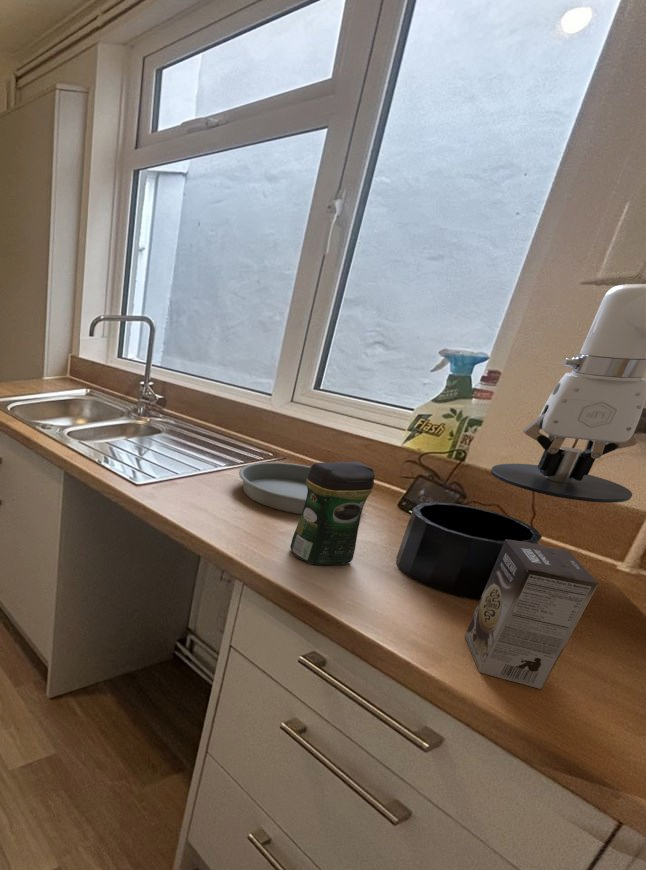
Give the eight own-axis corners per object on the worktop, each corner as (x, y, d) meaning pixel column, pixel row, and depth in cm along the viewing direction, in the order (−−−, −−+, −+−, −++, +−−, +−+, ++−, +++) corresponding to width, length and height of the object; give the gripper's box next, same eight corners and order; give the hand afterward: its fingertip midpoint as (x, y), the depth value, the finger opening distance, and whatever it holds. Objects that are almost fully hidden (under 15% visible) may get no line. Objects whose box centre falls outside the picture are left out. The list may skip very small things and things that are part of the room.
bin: (500, 567, 94) (523, 514, 90) (528, 612, 82) (556, 553, 78) (391, 545, 102) (408, 496, 98) (402, 584, 89) (421, 529, 85)
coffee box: (461, 635, 77) (503, 537, 71) (521, 650, 74) (570, 548, 67) (477, 673, 69) (525, 567, 63) (544, 691, 66) (602, 582, 60)
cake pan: (242, 511, 117) (246, 492, 116) (230, 474, 139) (233, 457, 137) (372, 525, 110) (378, 506, 108) (338, 484, 131) (342, 467, 130)
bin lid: (603, 479, 93) (621, 443, 91) (650, 514, 80) (673, 473, 78) (478, 463, 101) (491, 430, 99) (503, 493, 88) (519, 455, 86)
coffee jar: (330, 545, 102) (355, 455, 95) (359, 566, 95) (389, 470, 88) (281, 547, 102) (303, 456, 95) (306, 568, 94) (332, 471, 87)
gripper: (545, 367, 84) (501, 474, 91) (701, 376, 76) (640, 492, 83) (530, 360, 90) (490, 461, 97) (673, 368, 82) (618, 478, 89)
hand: (560, 475), depth 90 cm, fingers closed on bin lid, 3 cm apart
